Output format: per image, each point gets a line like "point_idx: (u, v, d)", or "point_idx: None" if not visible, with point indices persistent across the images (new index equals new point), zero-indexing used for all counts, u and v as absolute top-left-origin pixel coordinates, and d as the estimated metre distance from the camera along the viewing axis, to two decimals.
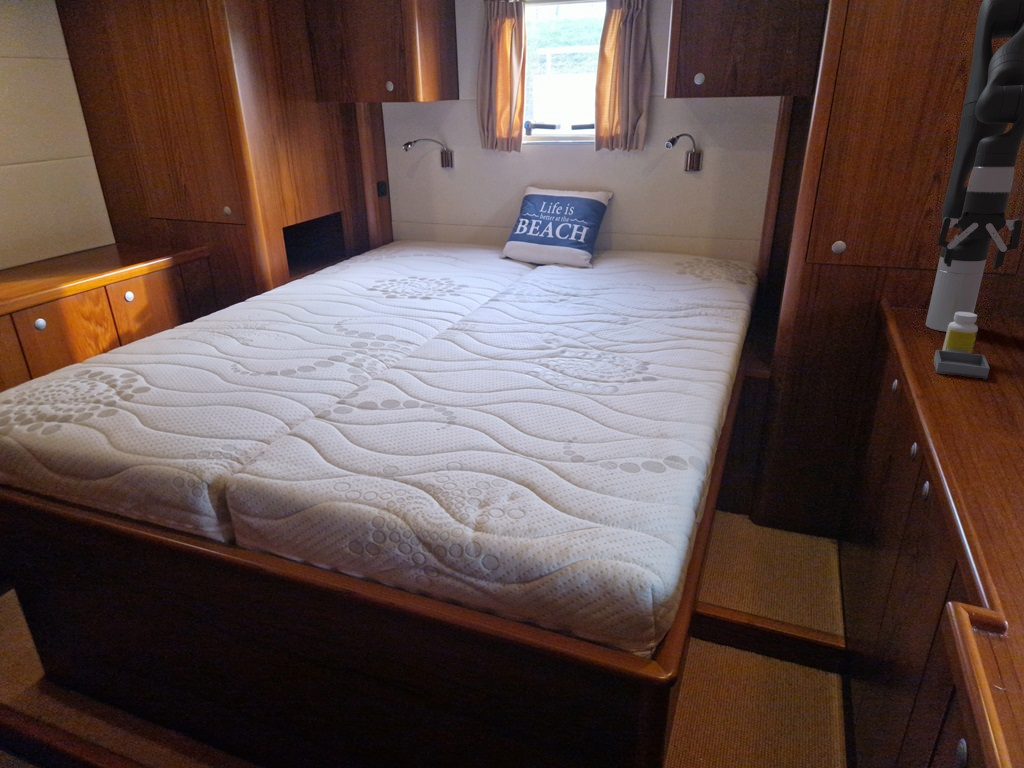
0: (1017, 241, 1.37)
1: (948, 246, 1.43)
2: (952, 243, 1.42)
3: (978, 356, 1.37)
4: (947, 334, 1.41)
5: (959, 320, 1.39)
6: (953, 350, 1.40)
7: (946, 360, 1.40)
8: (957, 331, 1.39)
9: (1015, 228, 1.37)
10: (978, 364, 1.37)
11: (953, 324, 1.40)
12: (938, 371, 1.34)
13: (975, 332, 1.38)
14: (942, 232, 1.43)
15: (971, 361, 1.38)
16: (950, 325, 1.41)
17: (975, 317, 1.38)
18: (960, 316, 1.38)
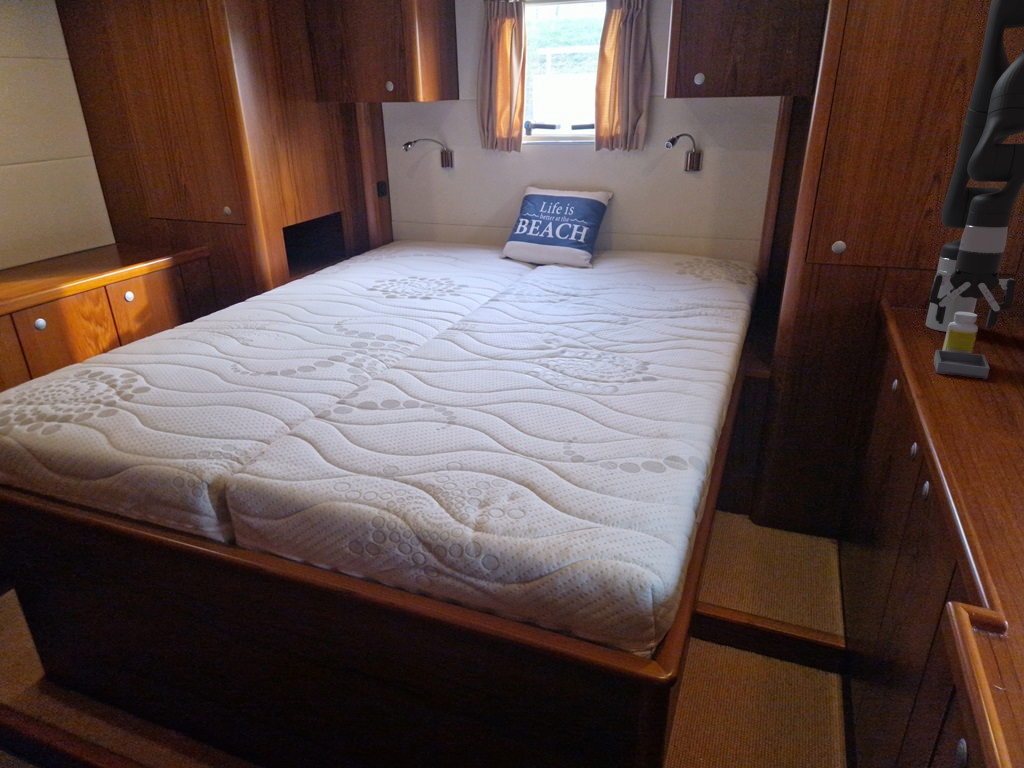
0: (1010, 301, 1.34)
1: (940, 304, 1.39)
2: (944, 301, 1.39)
3: (978, 356, 1.37)
4: (947, 334, 1.41)
5: (959, 320, 1.39)
6: (953, 350, 1.40)
7: (946, 360, 1.40)
8: (957, 331, 1.39)
9: (1008, 288, 1.33)
10: (978, 364, 1.37)
11: (953, 324, 1.40)
12: (938, 371, 1.34)
13: (975, 332, 1.38)
14: (934, 290, 1.39)
15: (971, 361, 1.38)
16: (950, 325, 1.41)
17: (975, 317, 1.38)
18: (960, 316, 1.38)
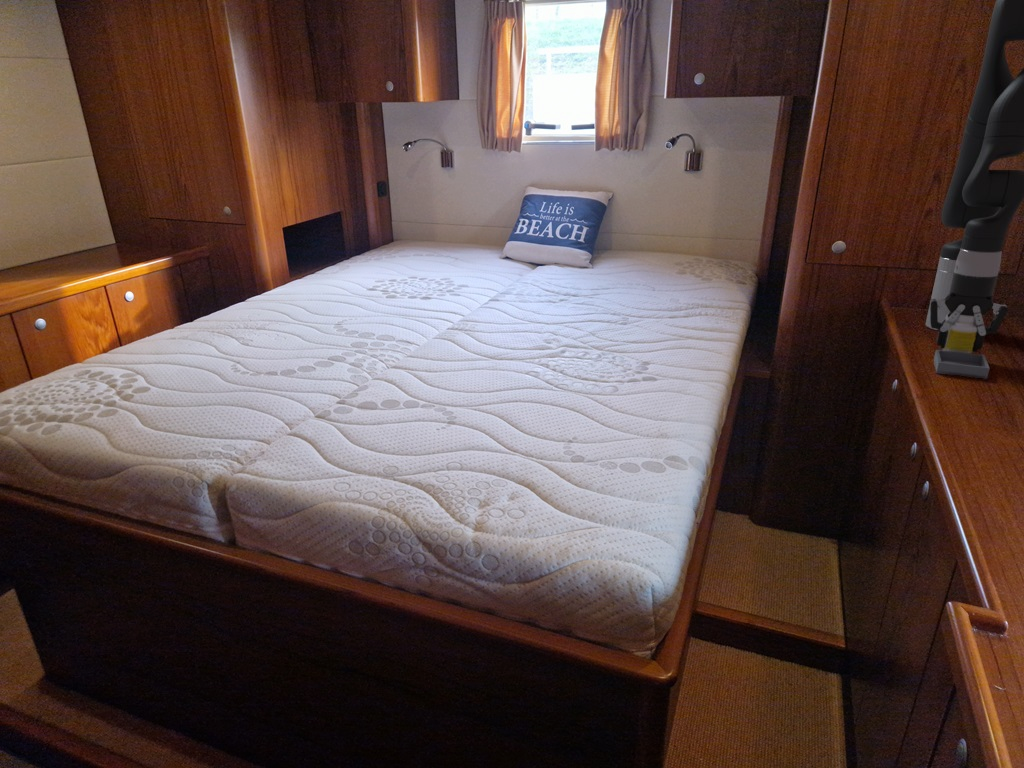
0: (997, 327, 1.36)
1: (941, 329, 1.41)
2: (945, 326, 1.41)
3: (978, 356, 1.37)
4: (947, 334, 1.41)
5: (959, 320, 1.39)
6: (953, 350, 1.40)
7: (946, 360, 1.40)
8: (957, 331, 1.39)
9: (999, 314, 1.35)
10: (978, 364, 1.37)
11: (953, 324, 1.40)
12: (938, 371, 1.34)
13: (975, 332, 1.38)
14: (932, 315, 1.41)
15: (971, 361, 1.38)
16: (950, 325, 1.41)
17: None
18: (960, 316, 1.38)
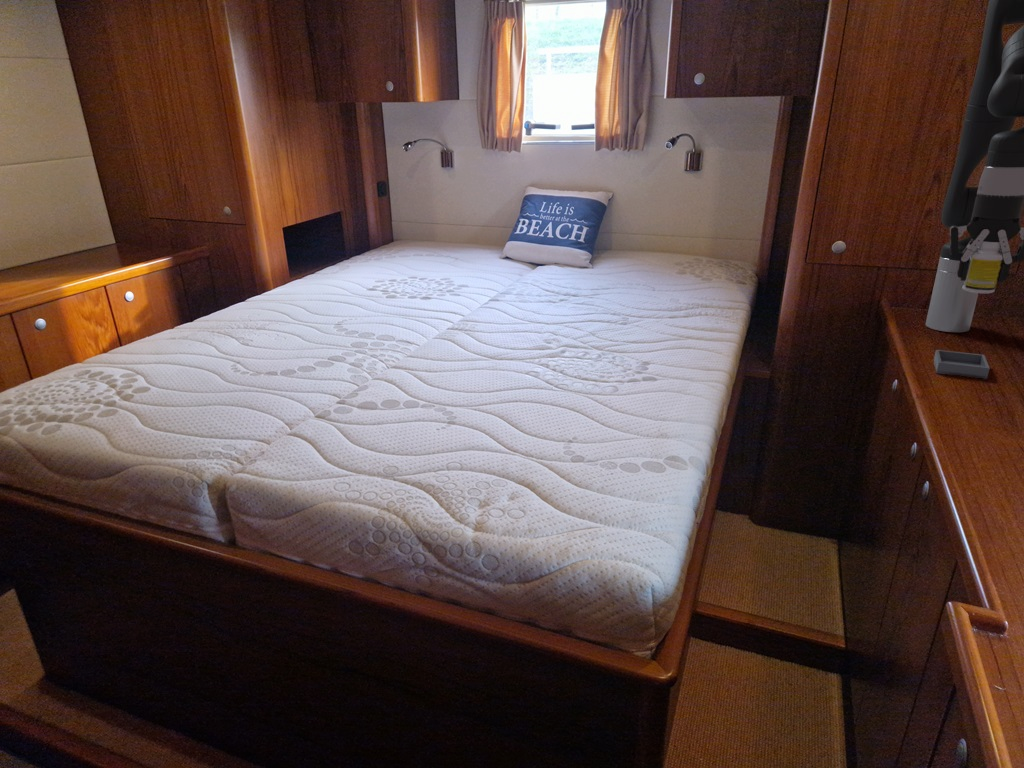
0: None
1: (962, 258, 1.29)
2: (967, 255, 1.28)
3: (978, 356, 1.37)
4: (969, 264, 1.29)
5: (983, 247, 1.26)
6: (976, 281, 1.28)
7: (946, 360, 1.40)
8: (980, 259, 1.26)
9: None
10: (978, 364, 1.37)
11: (976, 252, 1.27)
12: (938, 371, 1.34)
13: (1001, 261, 1.26)
14: (952, 243, 1.28)
15: (971, 361, 1.38)
16: (972, 254, 1.28)
17: None
18: (984, 243, 1.26)
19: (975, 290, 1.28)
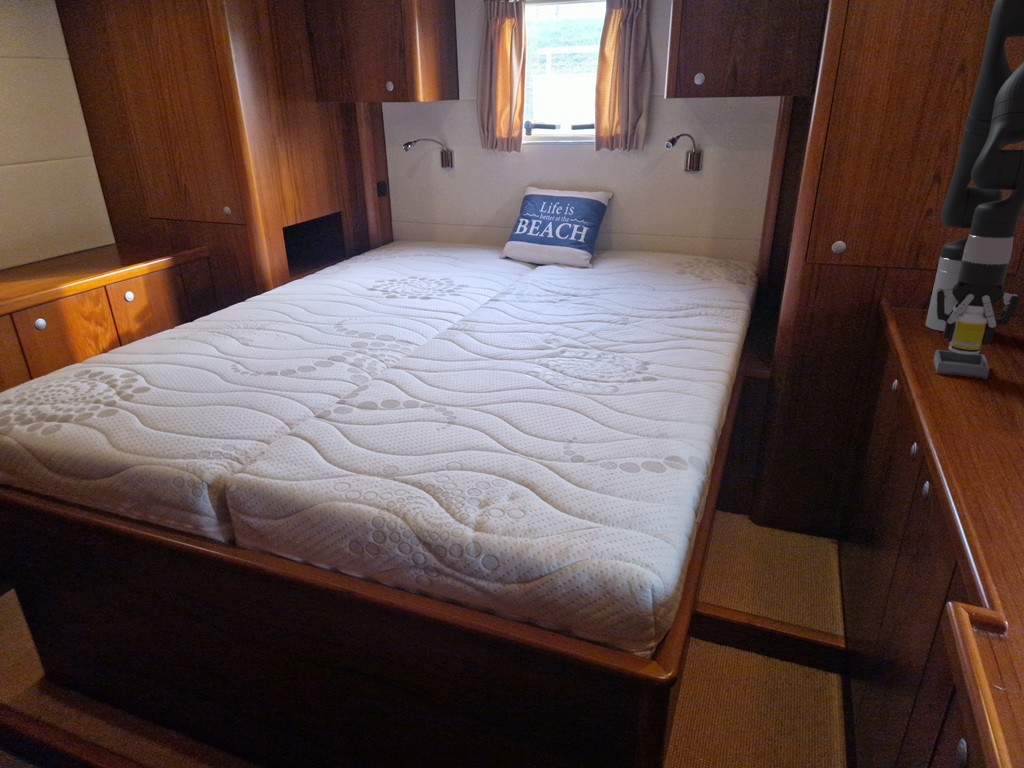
0: (1008, 318, 1.28)
1: (948, 320, 1.33)
2: (953, 317, 1.33)
3: (978, 356, 1.37)
4: (955, 326, 1.33)
5: (968, 311, 1.31)
6: (961, 343, 1.32)
7: (946, 360, 1.40)
8: (965, 323, 1.31)
9: (1011, 304, 1.27)
10: (978, 364, 1.37)
11: (961, 315, 1.32)
12: (938, 371, 1.34)
13: (985, 324, 1.30)
14: (939, 306, 1.33)
15: (971, 361, 1.38)
16: (958, 316, 1.32)
17: None
18: (969, 307, 1.30)
19: (960, 352, 1.33)
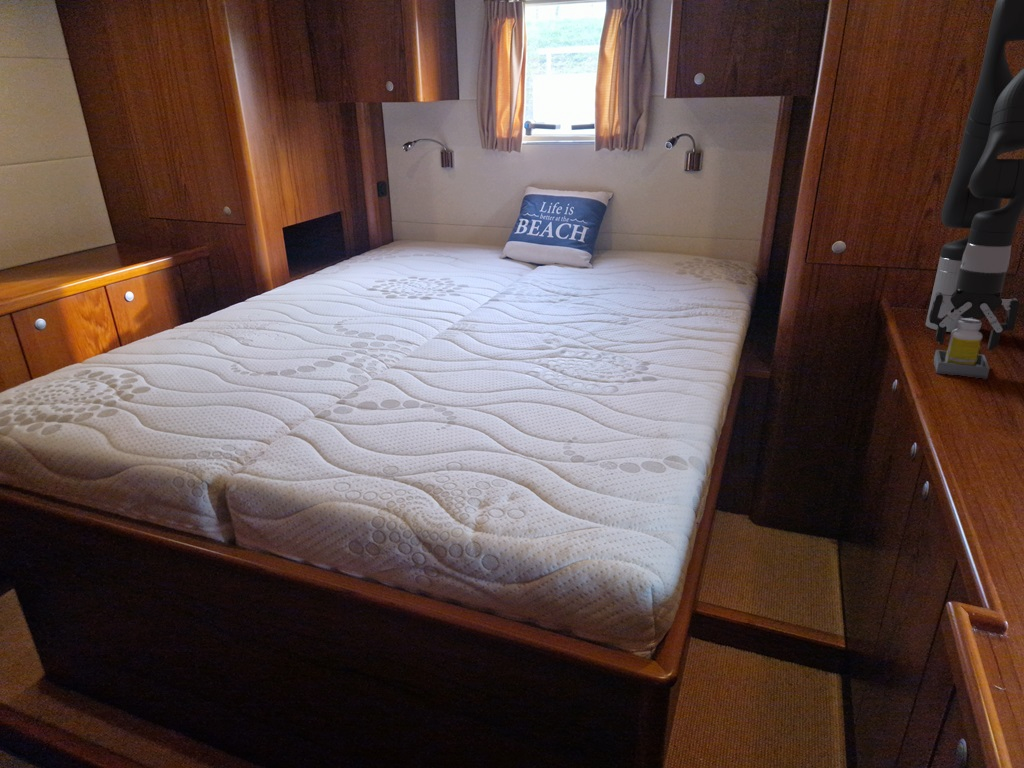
0: (1013, 322, 1.28)
1: (940, 324, 1.34)
2: (944, 321, 1.34)
3: (978, 356, 1.37)
4: (950, 342, 1.35)
5: (963, 327, 1.32)
6: (956, 359, 1.34)
7: None
8: (960, 339, 1.32)
9: (1011, 309, 1.28)
10: (978, 364, 1.37)
11: (956, 332, 1.33)
12: (938, 371, 1.34)
13: (980, 340, 1.32)
14: (934, 309, 1.34)
15: None
16: (953, 333, 1.34)
17: (979, 324, 1.31)
18: (964, 324, 1.32)
19: None
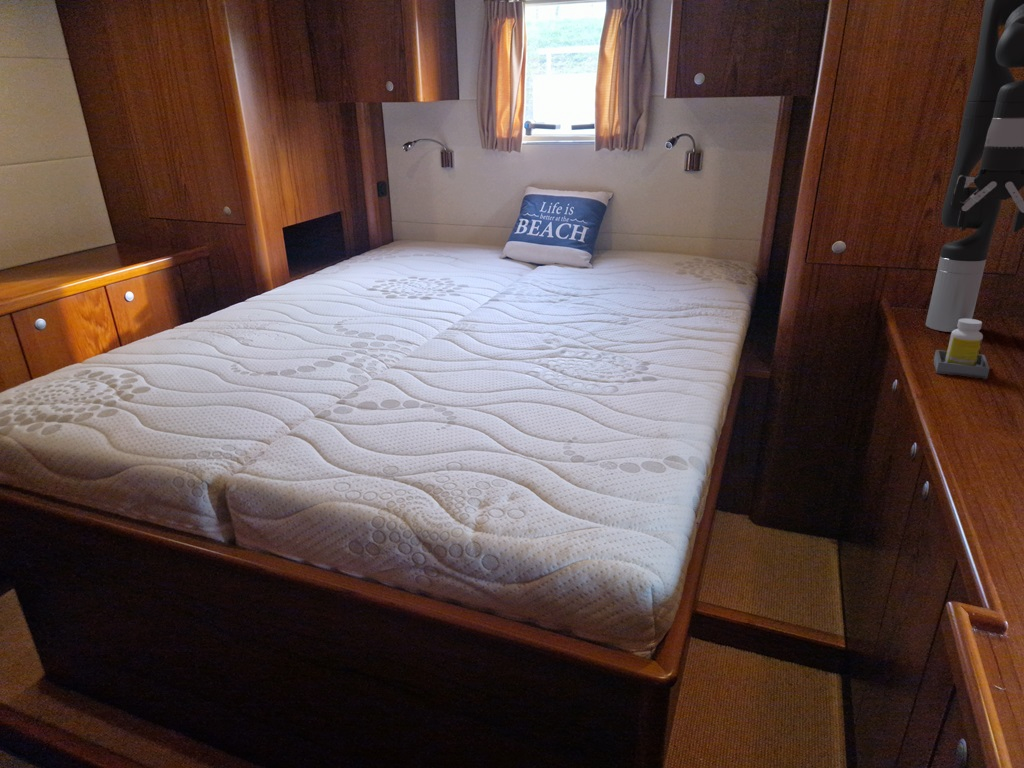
0: None
1: (963, 208, 1.30)
2: (967, 204, 1.29)
3: (978, 356, 1.37)
4: (950, 342, 1.35)
5: (963, 327, 1.32)
6: (957, 359, 1.34)
7: None
8: (960, 339, 1.32)
9: None
10: (978, 364, 1.37)
11: (956, 332, 1.33)
12: (938, 371, 1.34)
13: (980, 340, 1.32)
14: (956, 192, 1.29)
15: None
16: (953, 333, 1.34)
17: (980, 324, 1.31)
18: (964, 324, 1.32)
19: None
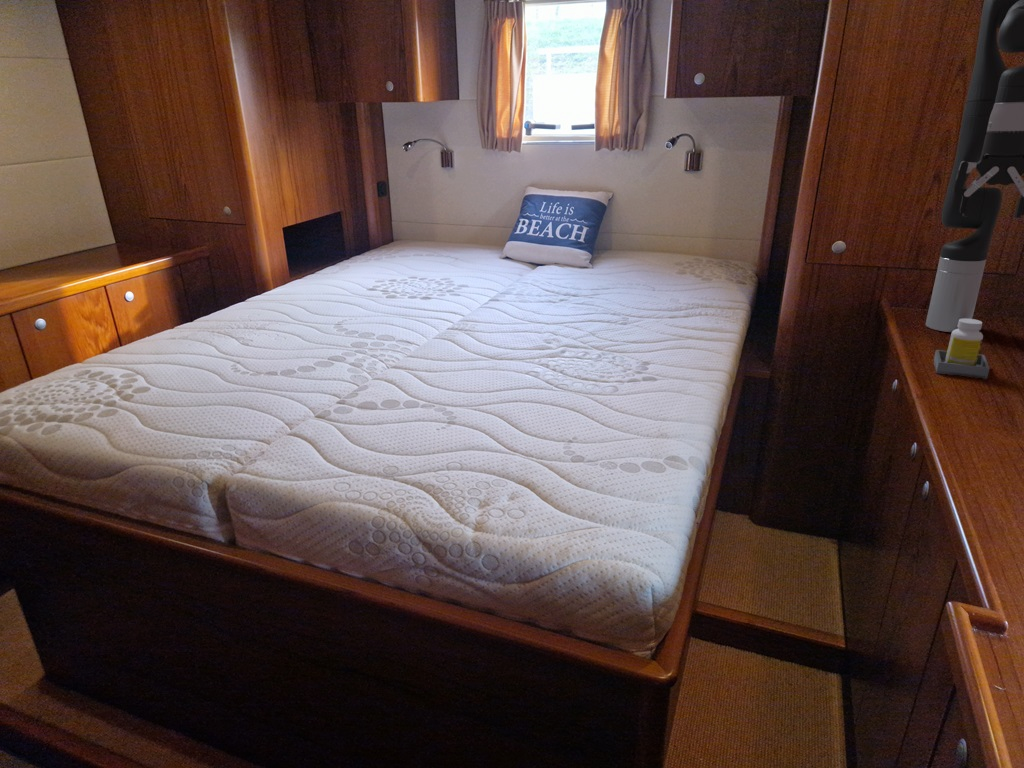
0: None
1: (965, 193, 1.30)
2: (969, 190, 1.29)
3: (978, 356, 1.37)
4: (950, 342, 1.35)
5: (963, 327, 1.32)
6: (957, 359, 1.34)
7: None
8: (961, 339, 1.32)
9: None
10: (978, 364, 1.37)
11: (957, 331, 1.33)
12: (938, 371, 1.34)
13: (980, 340, 1.32)
14: (958, 178, 1.29)
15: None
16: (954, 332, 1.34)
17: (980, 324, 1.31)
18: (964, 324, 1.32)
19: None
